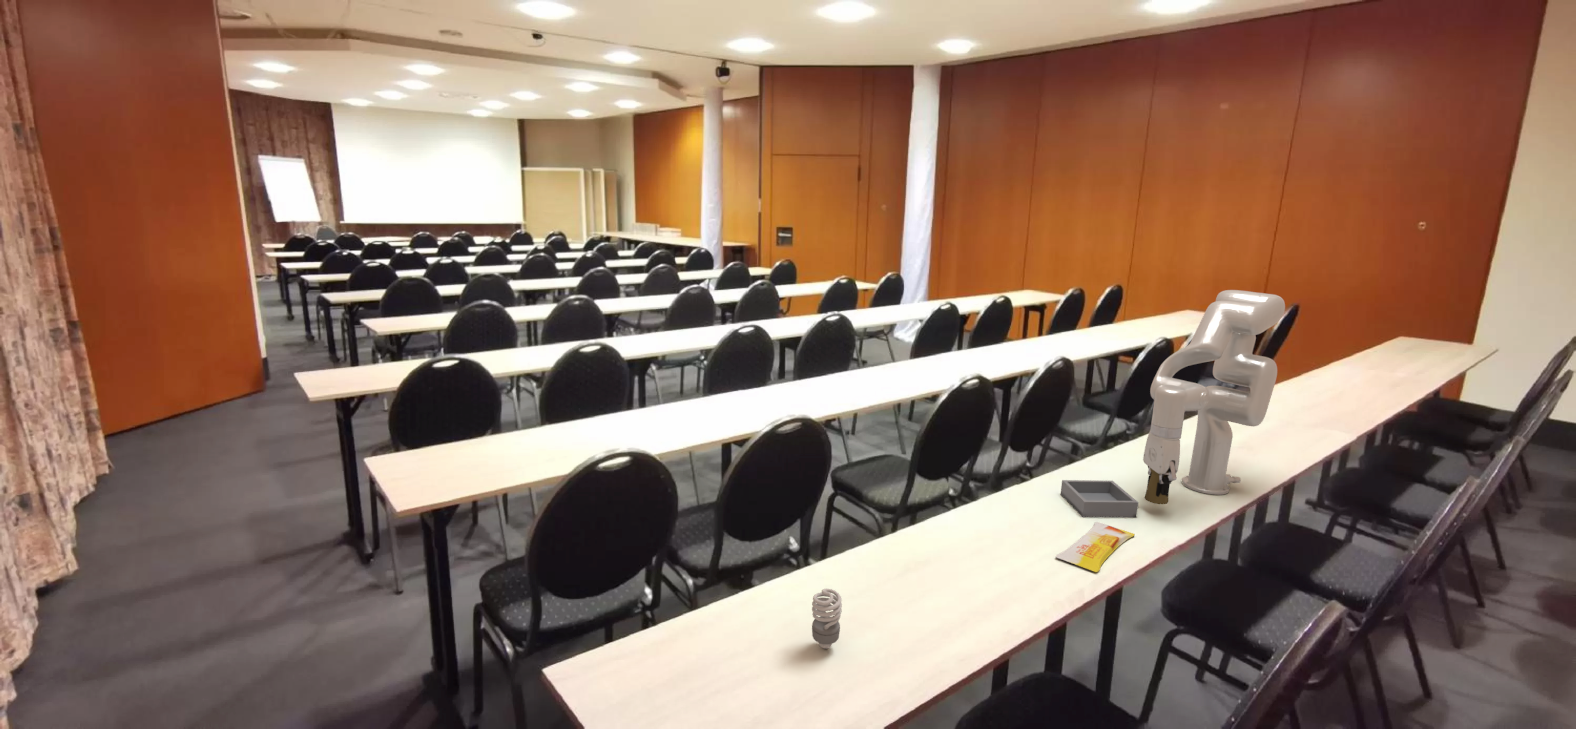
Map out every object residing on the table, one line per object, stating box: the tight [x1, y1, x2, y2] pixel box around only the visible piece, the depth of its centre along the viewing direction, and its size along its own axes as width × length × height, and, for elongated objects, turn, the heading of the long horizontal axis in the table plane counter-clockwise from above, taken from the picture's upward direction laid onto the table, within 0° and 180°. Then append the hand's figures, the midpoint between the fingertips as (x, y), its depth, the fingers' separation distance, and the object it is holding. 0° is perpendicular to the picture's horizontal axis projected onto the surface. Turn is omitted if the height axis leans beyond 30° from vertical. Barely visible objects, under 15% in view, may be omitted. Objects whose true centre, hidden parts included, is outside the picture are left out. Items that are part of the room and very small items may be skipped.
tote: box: [1060, 479, 1139, 519], centre depth 203 cm, size 15×15×4 cm
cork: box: [1143, 468, 1170, 505], centre depth 198 cm, size 6×6×11 cm
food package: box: [1055, 521, 1135, 573], centre depth 179 cm, size 27×2×10 cm
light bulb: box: [811, 588, 843, 649], centre depth 136 cm, size 6×6×12 cm
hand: (1157, 491), depth 199 cm, fingers closed on cork, 3 cm apart
